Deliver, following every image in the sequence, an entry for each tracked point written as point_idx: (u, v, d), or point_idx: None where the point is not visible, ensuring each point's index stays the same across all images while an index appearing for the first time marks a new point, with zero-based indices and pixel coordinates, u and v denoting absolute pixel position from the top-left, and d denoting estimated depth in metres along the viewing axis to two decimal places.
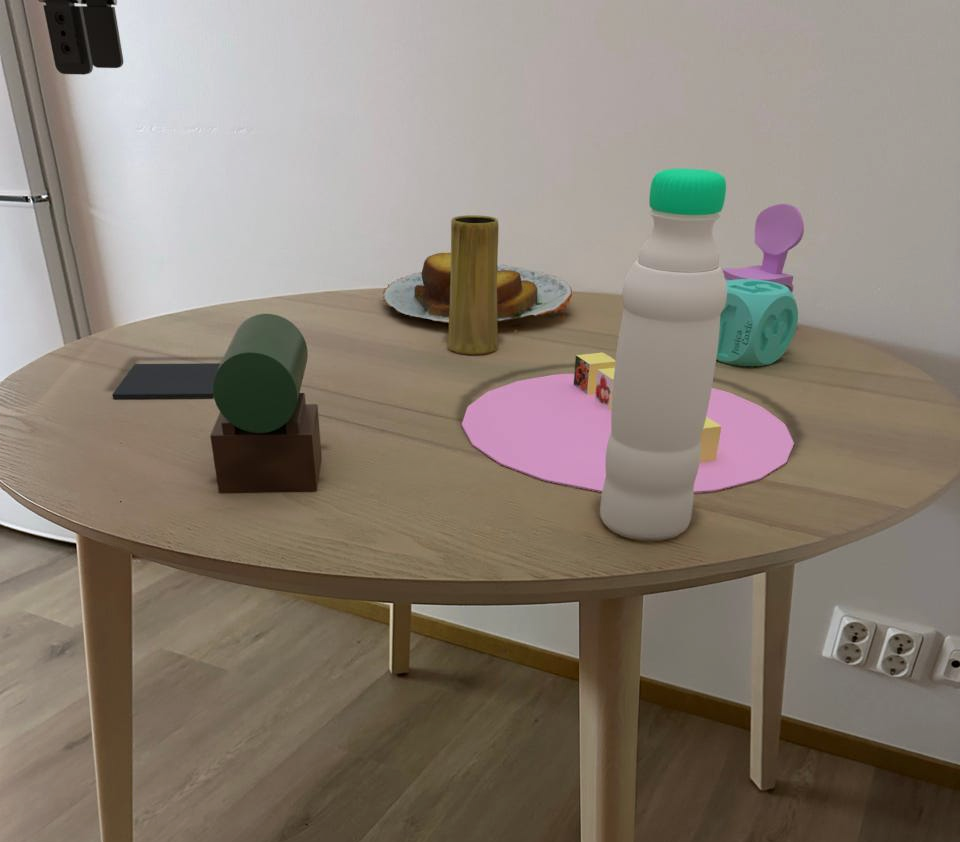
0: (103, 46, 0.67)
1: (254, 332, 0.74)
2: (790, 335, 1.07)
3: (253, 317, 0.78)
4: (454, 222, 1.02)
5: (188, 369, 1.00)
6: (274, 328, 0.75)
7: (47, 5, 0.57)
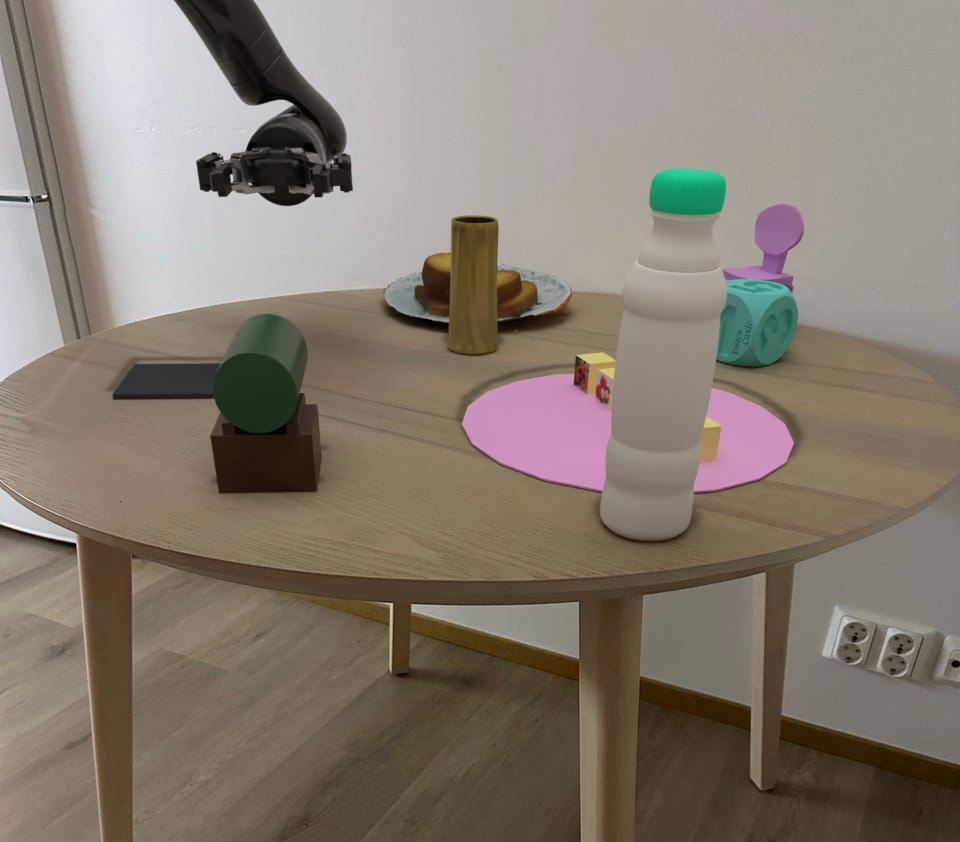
0: (226, 182, 0.83)
1: (254, 332, 0.74)
2: (790, 335, 1.07)
3: (253, 317, 0.78)
4: (454, 222, 1.02)
5: (188, 369, 1.00)
6: (274, 328, 0.75)
7: (331, 171, 0.85)
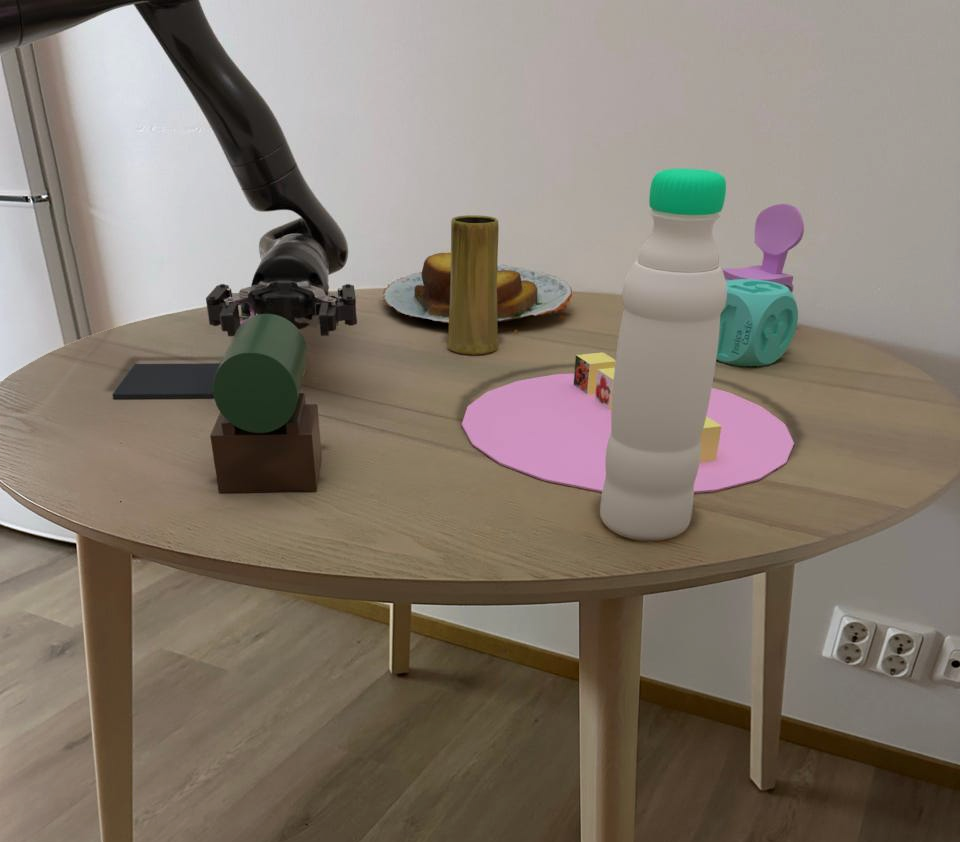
0: (236, 321, 0.86)
1: (254, 332, 0.74)
2: (790, 335, 1.07)
3: (253, 317, 0.78)
4: (454, 222, 1.02)
5: (188, 369, 1.00)
6: (274, 328, 0.75)
7: (336, 307, 0.88)
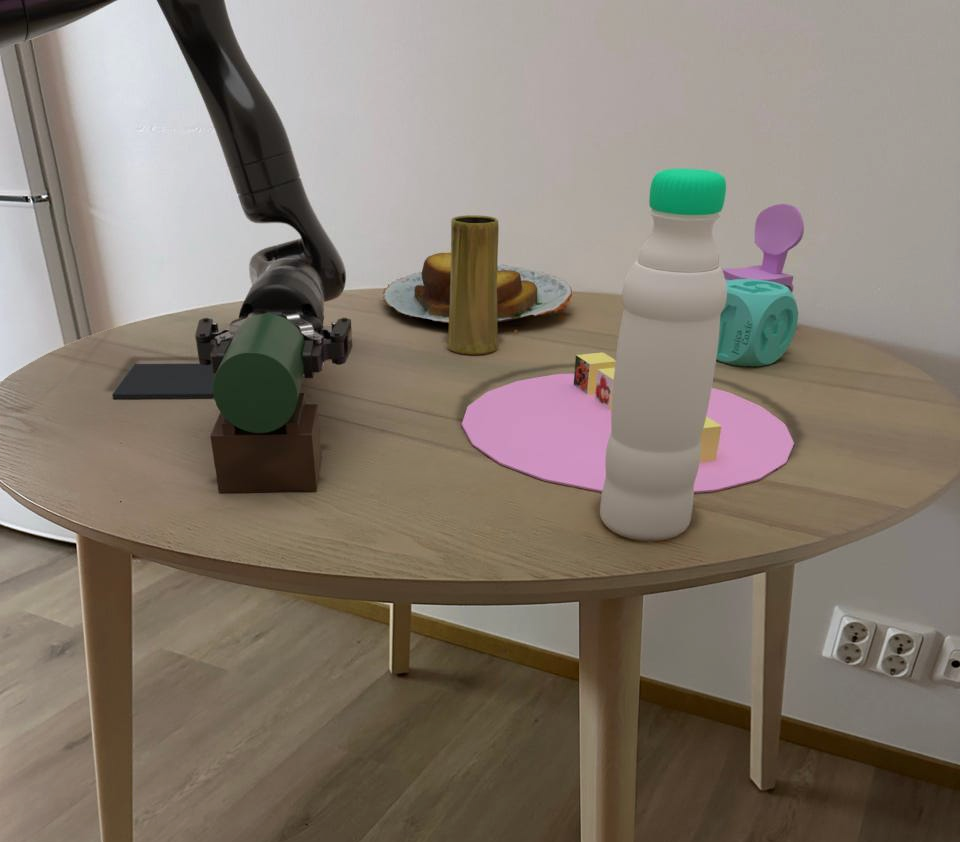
0: None
1: (254, 332, 0.74)
2: (790, 335, 1.07)
3: (253, 317, 0.78)
4: (454, 222, 1.02)
5: (188, 369, 1.00)
6: (273, 328, 0.75)
7: (322, 346, 0.80)
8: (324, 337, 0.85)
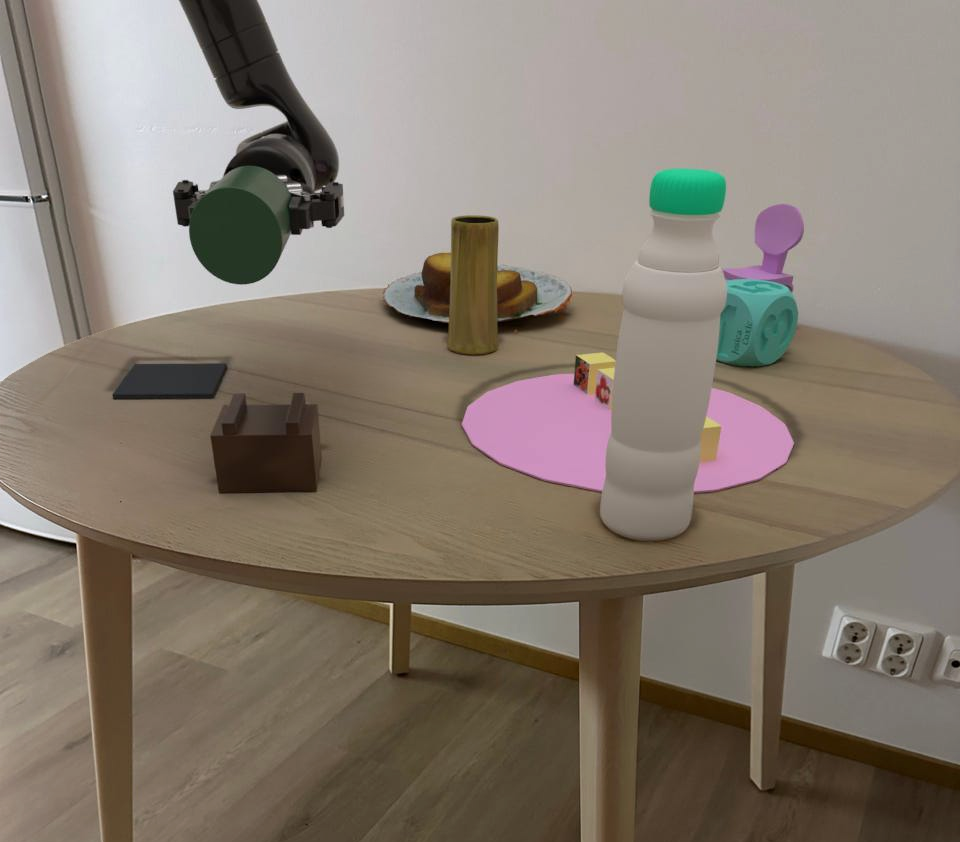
0: None
1: (235, 176, 0.67)
2: (790, 335, 1.07)
3: None
4: (454, 222, 1.02)
5: (188, 369, 1.00)
6: (257, 175, 0.69)
7: (311, 203, 0.73)
8: None
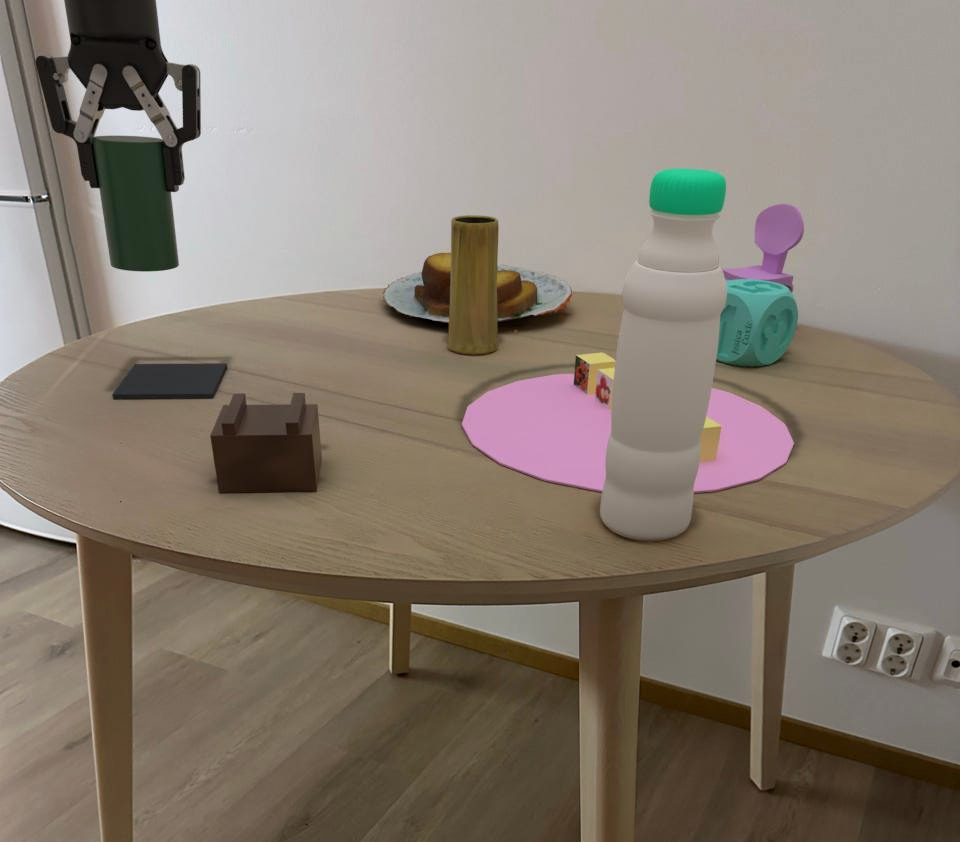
0: None
1: (126, 210, 0.85)
2: (790, 335, 1.07)
3: (110, 148, 0.83)
4: (454, 222, 1.02)
5: (188, 369, 1.00)
6: (138, 190, 0.85)
7: (179, 148, 0.85)
8: None
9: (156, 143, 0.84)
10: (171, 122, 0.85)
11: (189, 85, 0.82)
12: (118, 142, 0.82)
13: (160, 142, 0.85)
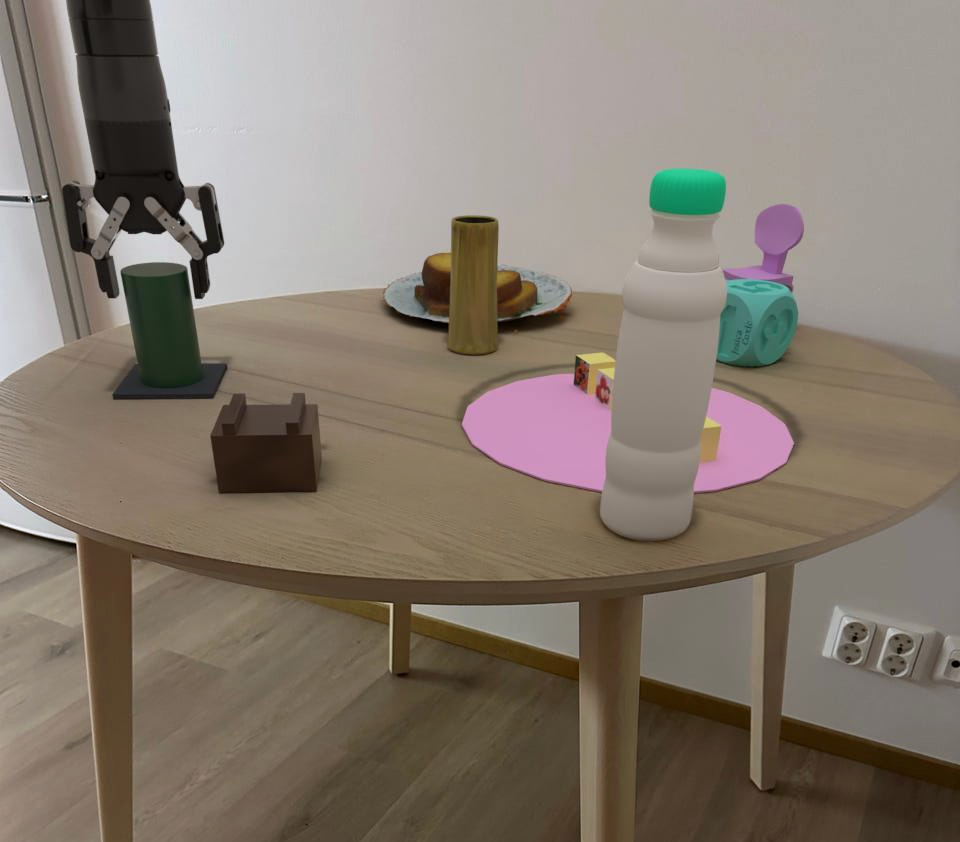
0: (115, 283, 0.92)
1: (153, 335, 0.92)
2: (790, 335, 1.07)
3: (137, 282, 0.90)
4: (454, 222, 1.02)
5: None
6: (165, 317, 0.92)
7: (205, 260, 0.91)
8: None
9: (179, 274, 0.91)
10: (194, 236, 0.91)
11: (207, 204, 0.88)
12: (145, 277, 0.89)
13: (183, 272, 0.91)
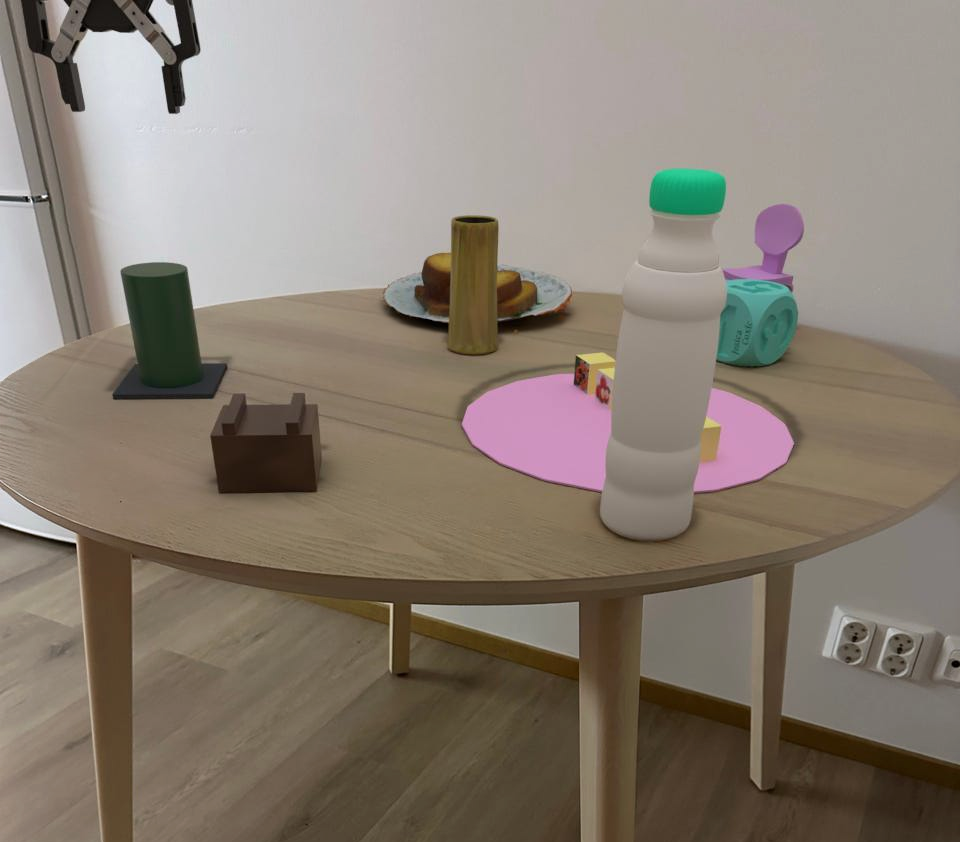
0: (79, 94, 0.83)
1: (153, 335, 0.92)
2: (789, 335, 1.07)
3: (137, 282, 0.90)
4: (454, 222, 1.02)
5: None
6: (165, 317, 0.92)
7: (178, 66, 0.82)
8: None
9: (179, 274, 0.91)
10: (167, 39, 0.82)
11: None
12: (145, 277, 0.89)
13: (183, 272, 0.91)
